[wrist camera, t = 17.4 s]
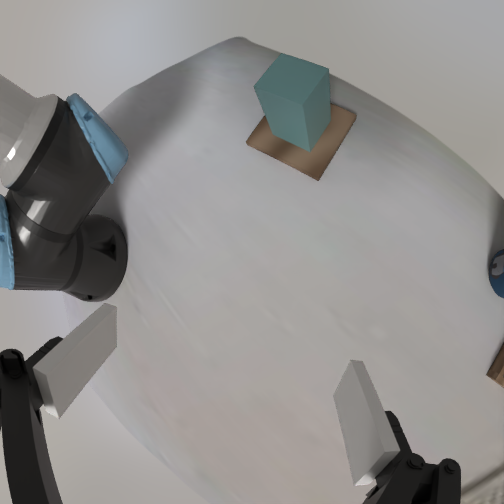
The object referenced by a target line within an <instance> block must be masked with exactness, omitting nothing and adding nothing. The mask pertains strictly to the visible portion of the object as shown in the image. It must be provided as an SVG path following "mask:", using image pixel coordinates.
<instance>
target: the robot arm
mask: <svg viewBox="0 0 504 504" xmlns="http://www.w3.org/2000/svg"><path fill="white" fill-rule="evenodd" d="M127 159H128V150H127V148H126V146H125V145H124V143H123V142H122V141H121V140H120V139H119V137H118V136H117V135H116V134H115V133H114V132H113V131H112V129H111V128H110V127H109V126H108V125H107V124H106V123H105V122H104V121H103V120H102V118H101V117H100V116H99V115H98V114H97V113H96V112H95V111H94V110H93V109H92V108H91V107H90V106H89V105H88V104H87V103H86V102H85V101H84V100H83V99H82V98H81V97H80V96H79V95H78V94H76V93H74V94H72V95H71V96H68V97H67V99H66V101H63V100H62V99H61V98H59V97H58V96H56V95H55V94H51V95H48V96H44V97H40V98H35V97H33V96H32V95H30V94H29V93H27V92H26V91H24V90H23V89H21V88H20V87H18V86H17V85H15V84H14V83H12V82H11V81H9V80H8V79H6V78H5V77H3V76H2V75H0V178H1V182H2V185H3V186H4V187H6V188H8V189H9V191H8V193H7V195H6V196H5V197H4V196H2V195H1V194H0V287H3V288H8V289H9V290H14V289H15V290H57V291H64V292H66V293H68V294H70V295H72V296H74V297H76V298H78V299H80V300H83V301H87V302H99V301H103V300H106V299H107V298H109V297H110V296H112V295H113V294H114V293H115V291H116V290H117V289H118V287H119V286H120V284H121V282H122V279H123V277H124V273H125V270H126V264H127V247H126V241H125V238H124V235H123V232H122V231H121V229H120V227H119V226H118V225H117V223H115V222H114V221H113V220H111V219H110V218H107V217H104V216H101V215H88V214H89V212H90V211H91V209H92V208H93V207H94V205H95V204H96V202H97V201H98V200H99V198H100V197H101V196H102V194H103V193H104V192H105V190H106V189H107V188H108V186H109V185H110V184H113V183H114V179H115V177H116V176H117V174H118V173H119V172H120V170H121V169H122V168H123V166H124V165H125V164H126V162H127ZM116 347H117V307H116V306H113V305H110V304H107V303H104V304H103V305H102V306H101V307H100V308H99V309H97V310H96V311H95V312H94V313H93V314H91V315H90V316H89V317H88V318H87V319H86V320H85V321H83V322H82V323H81V324H80V325H79V326H78V327H76V328H75V329H74V330H73V331H72V332H71V333H70V334H69V335H67V336H66V337H65V338H64V339H63V338H61V337H59V336H58V337H55V338H53V339H50V340H49V341H48V342H47V343H45V344H44V346H42V347H41V348H40V349H39V350H38V351H36V352H35V353H34V354H33V355H32V356H31V357H29V358H28V359H27V360H26V361H24V357H23V354H22V353H21V352H20V351H18V350H16V349H6V350H4V351H2V352H1V353H0V430H1V426H2V438H3V448H4V457H5V466H6V471H7V478H8V484H9V489H10V494H11V498H12V503H13V504H63V503H62V500H61V497H60V494H59V491H58V488H57V484H56V481H55V478H54V474H53V470H52V467H51V462H50V458H49V454H48V449H47V444H46V440H45V434H44V429H43V423H42V417H41V411H40V409H39V408H40V407H41V406H42V405H43V404H44V406H45V409H46V412H48V413H50V414H52V415H53V416H55V417H57V418H58V419H60V417H61V416H62V415H63V413H64V412H65V411H66V409H67V408H68V407H69V406H70V404H71V403H72V402H73V400H74V399H75V398H76V397H77V395H78V394H79V393H80V392H81V390H82V389H83V388H84V386H85V385H86V384H87V383H88V381H89V380H90V379H91V378H92V376H93V375H94V374H95V373H96V371H97V370H98V369H99V368H100V367H101V365H102V364H103V363H104V362H105V360H106V359H107V358H108V357H109V355H110V354H111V353H112V352H113V351H114V349H115V348H116ZM333 397H334V401H335V405H336V409H337V413H338V417H339V421H340V425H341V429H342V434H343V438H344V442H345V447H346V451H347V455H348V460H349V464H350V469H351V474H352V478H353V483H354V486H358V485H369V484H370V483H371V482H372V481H373V480H374V479H376V482H377V485H376V486H375V487H374V488H372V489H371V490H370V491H369V492H368V493H367V494H366V496H367V498H366V499H365V501H364V502H363V504H460V499H461V469H460V466H459V464H458V463H457V462H456V461H455V460H453V459H448V458H446V459H443V460H442V461H441V462H440V463H439V464H438V465H436V464H428V463H425V461H424V459H423V458H422V457H421V456H419V455H418V454H415V453H412V451H411V449H410V446H409V444H408V442H407V439H406V437H405V435H404V433H403V430H402V428H401V427H400V423H399V421H398V419H397V417H396V416H395V415H394V414H393V413H392V412H391V411H384V409H383V407H382V404H381V402H380V399H379V397H378V395H377V392H376V390H375V388H374V386H373V383H372V381H371V379H370V377H369V374H368V372H367V370H366V368H365V365H364V363H363V361H356V360H350V362H349V364H348V367H347V369H346V371H345V373H344V375H343V377H342V379H341V381H340V383H339V385H338V387H337V389H336V391H335V393H334V395H333Z"/></svg>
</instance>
